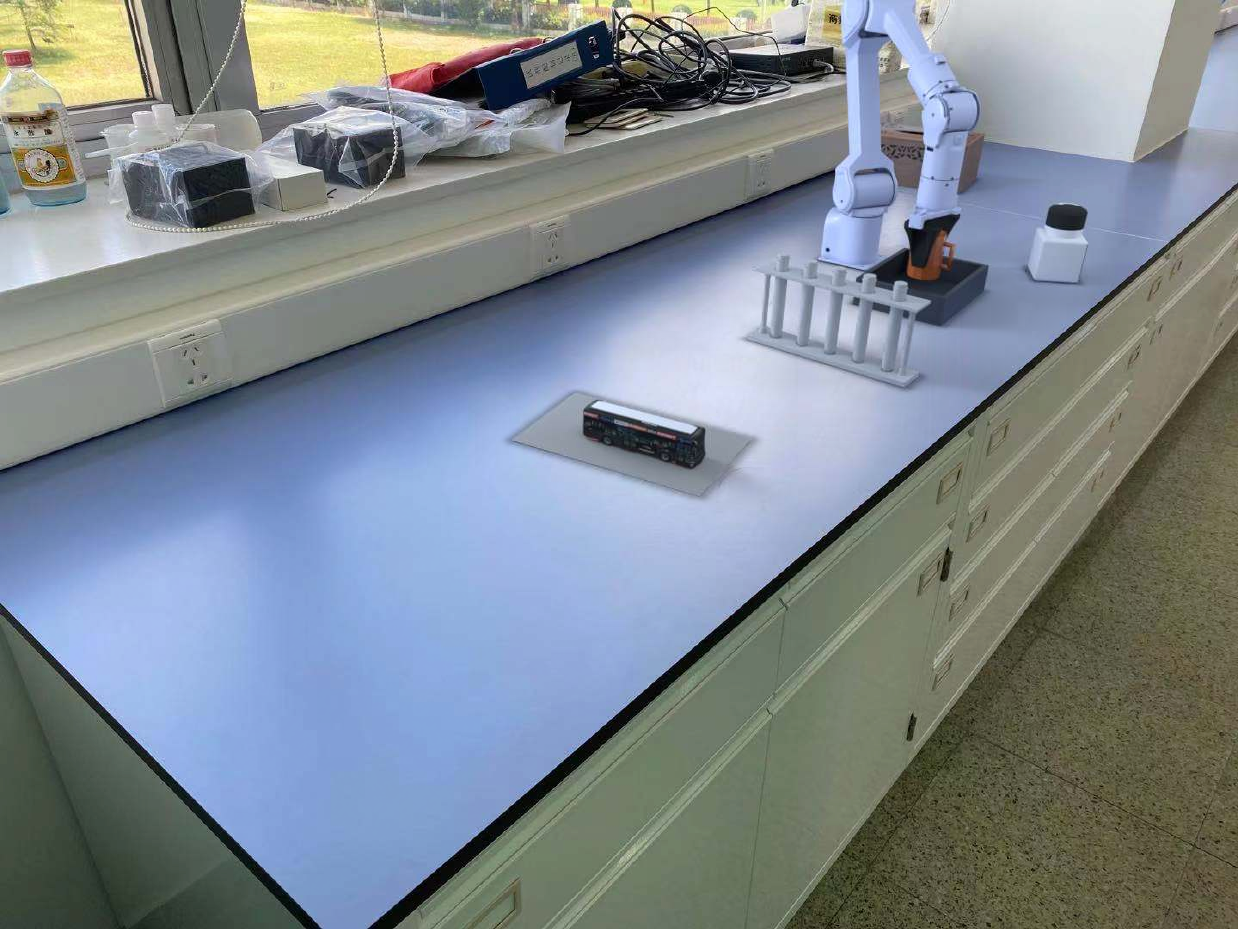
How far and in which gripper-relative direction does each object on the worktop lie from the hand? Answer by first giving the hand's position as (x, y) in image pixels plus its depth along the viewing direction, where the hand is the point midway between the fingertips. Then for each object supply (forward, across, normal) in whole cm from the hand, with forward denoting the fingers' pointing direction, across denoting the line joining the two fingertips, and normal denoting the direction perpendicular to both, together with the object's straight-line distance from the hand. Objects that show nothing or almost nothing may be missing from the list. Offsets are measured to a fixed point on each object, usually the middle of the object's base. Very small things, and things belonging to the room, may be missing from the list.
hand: (925, 262), depth 153 cm
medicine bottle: (+6, +24, -14) cm, 29 cm away
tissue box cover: (+6, +70, +31) cm, 77 cm away
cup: (+2, 0, 0) cm, 2 cm away
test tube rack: (+6, -30, +1) cm, 31 cm away
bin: (+6, 0, 0) cm, 6 cm away
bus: (+6, -66, +9) cm, 67 cm away
